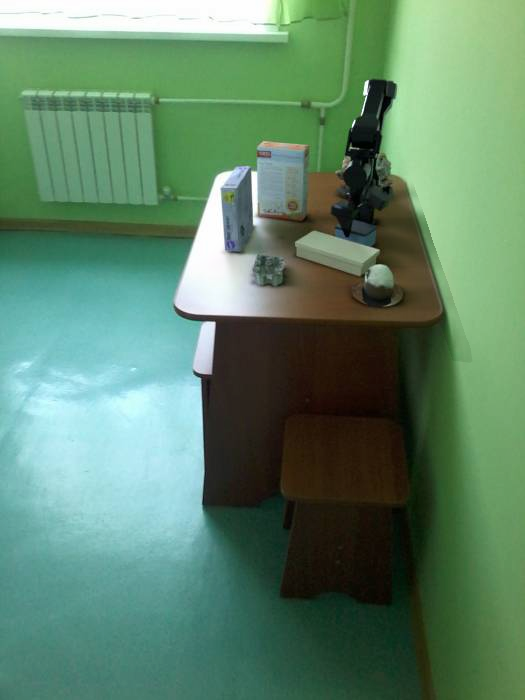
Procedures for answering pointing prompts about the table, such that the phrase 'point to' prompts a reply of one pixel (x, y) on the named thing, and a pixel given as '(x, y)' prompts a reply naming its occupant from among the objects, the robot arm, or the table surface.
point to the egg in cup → (377, 288)
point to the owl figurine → (382, 170)
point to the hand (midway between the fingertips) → (355, 231)
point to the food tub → (359, 233)
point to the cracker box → (282, 180)
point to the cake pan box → (237, 208)
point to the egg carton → (268, 269)
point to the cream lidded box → (337, 252)
